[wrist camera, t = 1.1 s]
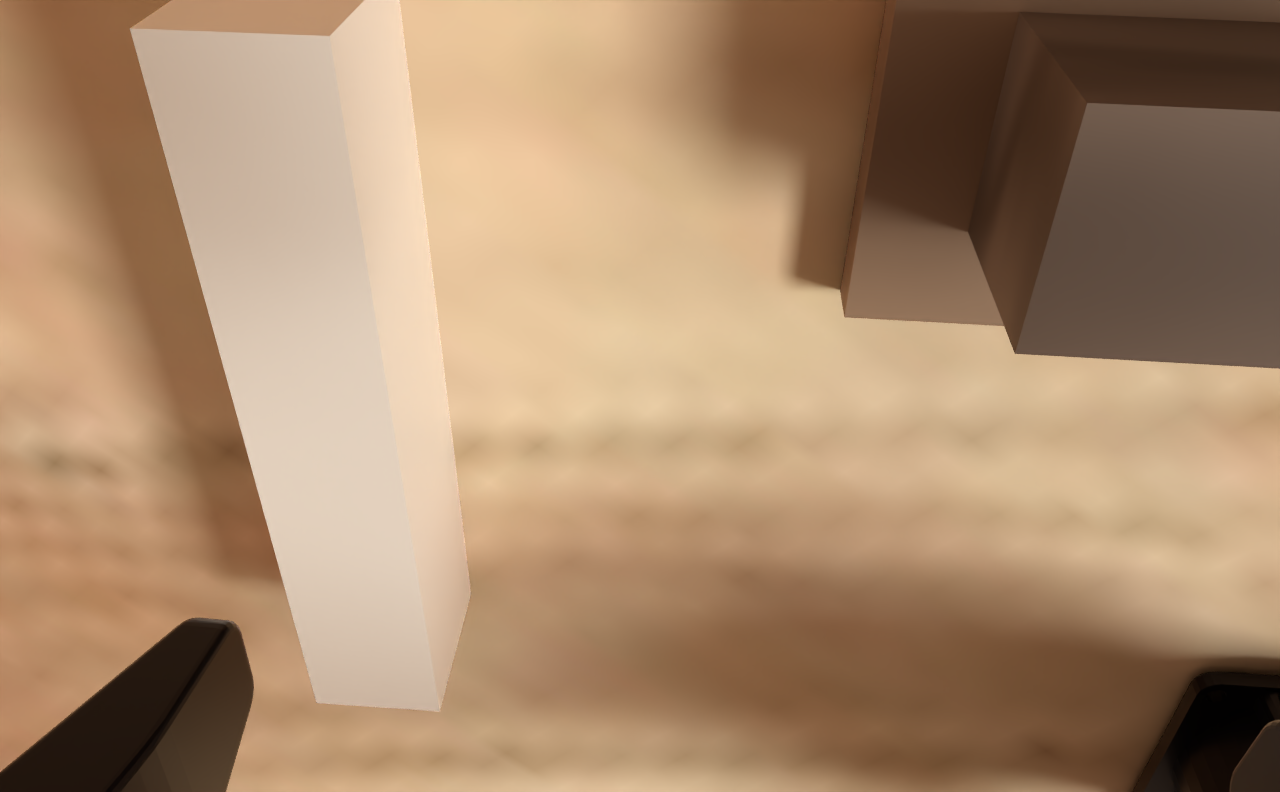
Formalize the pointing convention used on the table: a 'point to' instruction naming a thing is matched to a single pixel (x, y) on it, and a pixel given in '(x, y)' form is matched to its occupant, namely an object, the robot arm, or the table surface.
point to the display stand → (1076, 176)
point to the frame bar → (323, 320)
